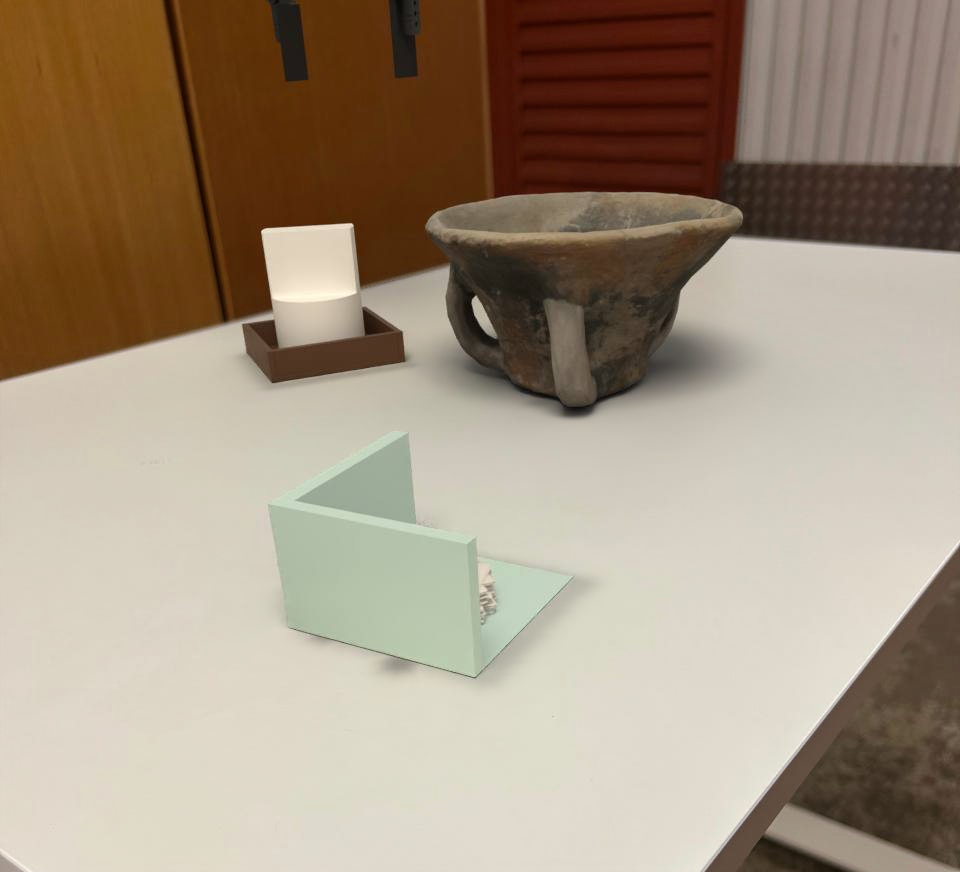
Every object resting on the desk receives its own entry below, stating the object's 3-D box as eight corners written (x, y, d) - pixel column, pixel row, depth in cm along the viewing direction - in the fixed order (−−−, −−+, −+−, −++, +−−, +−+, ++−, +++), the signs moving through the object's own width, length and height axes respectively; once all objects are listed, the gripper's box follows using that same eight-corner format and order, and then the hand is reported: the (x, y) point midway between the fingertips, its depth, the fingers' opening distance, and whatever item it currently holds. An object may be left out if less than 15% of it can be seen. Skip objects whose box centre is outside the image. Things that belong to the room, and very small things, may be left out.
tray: (272, 382, 96) (267, 351, 95) (246, 352, 106) (241, 323, 105) (405, 361, 100) (402, 331, 99) (368, 333, 110) (365, 306, 109)
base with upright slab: (367, 337, 107) (355, 218, 101) (364, 360, 99) (351, 233, 93) (284, 343, 107) (266, 223, 100) (274, 366, 99) (255, 239, 93)
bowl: (635, 327, 107) (640, 175, 100) (789, 391, 86) (811, 206, 79) (400, 365, 99) (386, 203, 91) (508, 446, 78) (501, 245, 70)
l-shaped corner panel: (475, 677, 50) (467, 544, 46) (288, 627, 56) (267, 503, 52) (573, 576, 59) (573, 457, 55) (404, 541, 64) (393, 430, 60)
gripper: (466, -221, 82) (478, 73, 93) (245, -176, 94) (279, 79, 105) (414, -235, 77) (433, 78, 88) (187, -187, 89) (229, 84, 100)
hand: (350, 79), depth 97 cm, fingers open, 13 cm apart
